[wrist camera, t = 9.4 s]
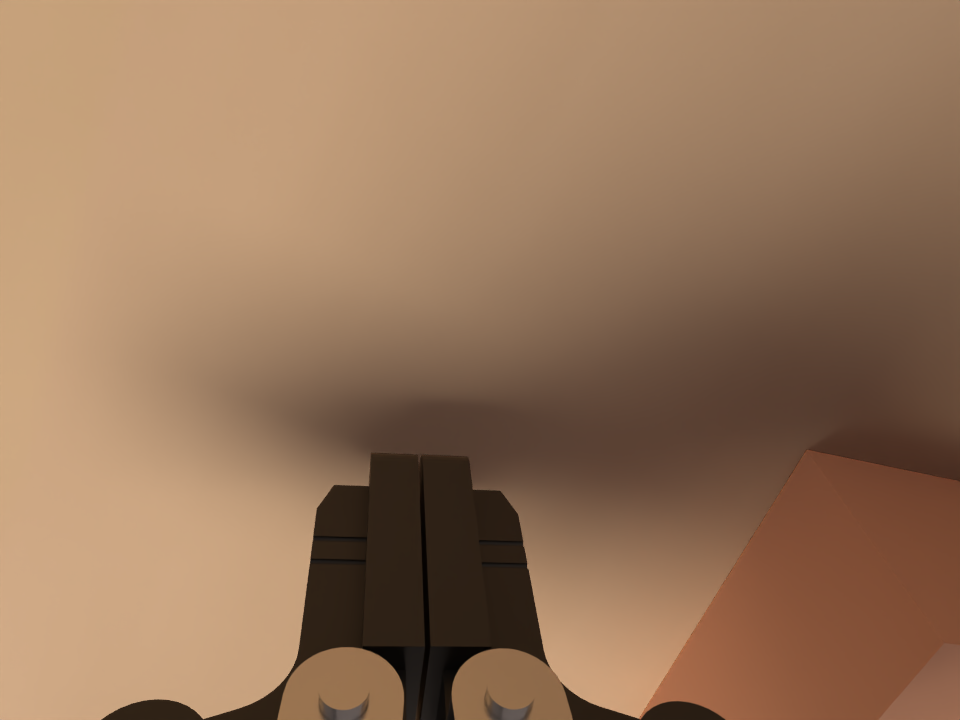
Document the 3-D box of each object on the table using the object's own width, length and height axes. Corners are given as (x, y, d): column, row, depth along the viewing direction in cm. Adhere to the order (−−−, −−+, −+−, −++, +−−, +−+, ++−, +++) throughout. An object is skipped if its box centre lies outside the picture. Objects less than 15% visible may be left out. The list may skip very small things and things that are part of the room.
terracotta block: (635, 709, 18) (696, 929, 14) (800, 441, 14) (944, 642, 11) (921, 743, 20) (1044, 947, 16) (1136, 511, 16) (1362, 706, 12)
